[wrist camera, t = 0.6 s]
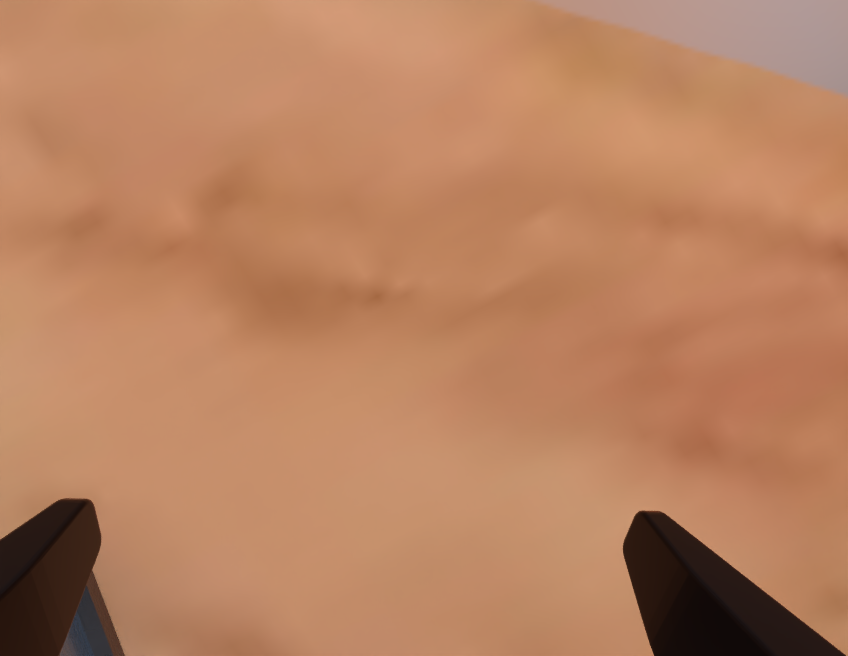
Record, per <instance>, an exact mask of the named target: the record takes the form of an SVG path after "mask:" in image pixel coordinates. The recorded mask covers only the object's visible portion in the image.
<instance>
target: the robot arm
mask: <svg viewBox="0 0 848 656" xmlns="http://www.w3.org/2000/svg"><path fill="white" fill-rule="evenodd" d="M100 546H101V532H100V528H99V524H98V519H97V515H96V511H95V507H94V504H93V502H92V501H91V500H89V499H74V498H65V499H61V500H58V501H56V502H55V503H53V504H52V505H50V506H49V507H47V508H46V509H44V510H43V511H42V512H40V513H39V514H37V515H36V516H34V517H33V518H31V519H30V520H28V521H27V522H25V523H24V524H22V525H21V526H20V527H18V528H17V529H15V530H14V531H12V532H11V533H9V534H8V535H6V536H5V537H3V538H2V539H0V656H59V655H60V652H61V650H62V647H63V645H64V642H65V640H66V637H67V635H68V632H69V630H70V627H71V624H72V622H73V619H74V616H75V614H76V611H77V608H78V606H79V603H80V601H81V598H82V595H83V593H84V590H85V587H86V585H87V582H88V579H89V577H90V574H91V572H92V569H93V566H94V564H95V561H96V558H97V556H98V553H99V550H100ZM623 554H624V559H625V562H626V565H627V569H628V572H629V576H630V579H631V582H632V586H633V589H634V593H635V596H636V600H637V603H638V606H639V610H640V613H641V617H642V620H643V624H644V627H645V630H646V633H647V637H648V640H649V643H650V646H651V648H652V651H653V654H654V656H846V655H845V654H843V653H842V652H841V651H840V650H838V649H837V648H836V647H834V646H833V645H832V644H831V643H829V642H828V641H827V640H826V639H824V638H823V637H822V636H820V635H819V634H818V633H817V632H815V631H814V630H813V629H811V628H810V627H809V626H808V625H806V624H805V623H804V622H803V621H801V620H800V619H799V618H797V617H796V616H795V615H794V614H792V613H791V612H790V611H788V610H787V609H786V608H785V607H783V606H782V605H781V604H780V603H778V602H777V601H776V600H774V599H773V598H772V597H771V596H769V595H768V594H767V593H766V592H764V591H763V590H762V589H760V588H759V587H758V586H757V585H755V584H754V583H753V582H751V581H750V580H749V579H748V578H746V577H745V576H744V575H743V574H741V573H740V572H739V571H737V570H736V569H735V568H734V567H732V566H731V565H730V564H728V563H727V562H726V561H725V560H723V559H722V558H721V557H720V556H718V555H717V554H716V553H714V552H713V551H712V550H711V549H709V548H708V547H707V546H706V545H704V544H703V543H702V542H700V541H699V540H698V539H697V538H695V537H694V536H693V535H691V534H690V533H689V532H688V531H686V530H685V529H684V528H683V527H681V526H680V525H679V524H677V523H676V522H675V521H674V520H672V519H671V518H670V517H669V516H667V515H666V514H664V513H662V512H660V511H639V512H638V513H637V514H636V515H635V516H634V519H633V521H632V523H631V526H630V528H629V530H628V533H627V535H626V537H625V540H624V543H623Z"/></svg>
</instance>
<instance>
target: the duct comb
mask: <svg viewBox="0 0 848 656" xmlns="http://www.w3.org/2000/svg"><path fill="white" fill-rule="evenodd" d="M59 656H124V653H123V650H122V648H121V645H120V643H119V640H118V637H117V635H116V632H115V629H114V627H113V624H112V622H111V619H110V616H109V614H108V611H107V609H106V606H105V603H104V601H103V598H102V595H101V593H100V590H99V588H98V585H97V582H96V580H95V577H94V575H93V572H91V574H90V577H89V579H88V582H87V585H86V587H85V590H84V593H83V595H82V598H81V601H80V603H79V606H78V608H77V611H76V614H75V616H74V619H73V622H72V624H71V627H70V630H69V632H68V635H67V637H66V640H65V642H64V645H63V647H62V650H61V652H60V655H59Z"/></svg>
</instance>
